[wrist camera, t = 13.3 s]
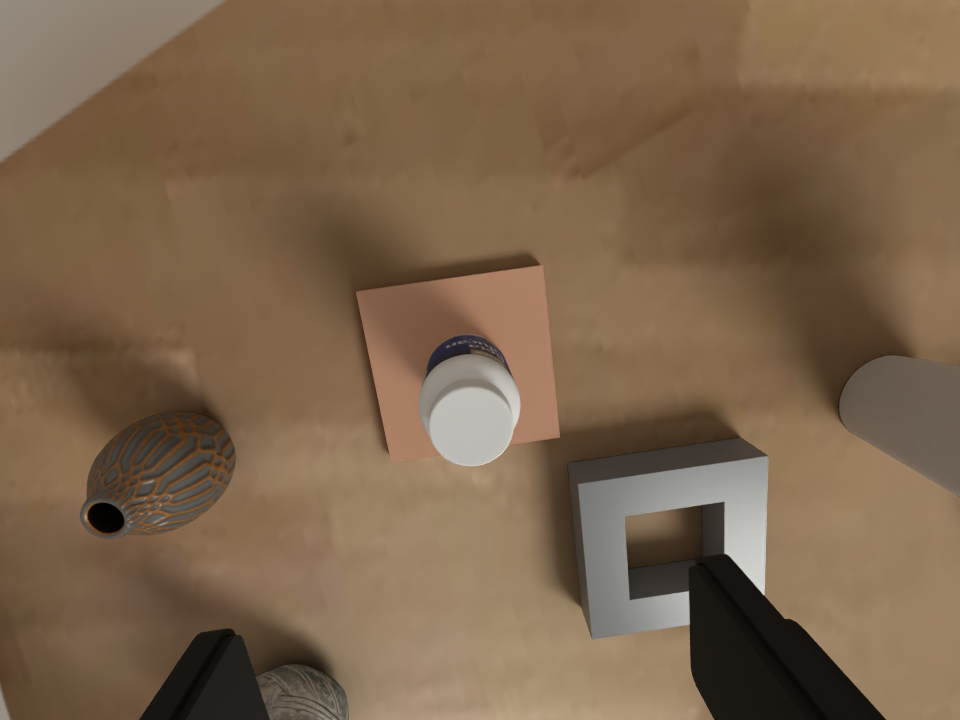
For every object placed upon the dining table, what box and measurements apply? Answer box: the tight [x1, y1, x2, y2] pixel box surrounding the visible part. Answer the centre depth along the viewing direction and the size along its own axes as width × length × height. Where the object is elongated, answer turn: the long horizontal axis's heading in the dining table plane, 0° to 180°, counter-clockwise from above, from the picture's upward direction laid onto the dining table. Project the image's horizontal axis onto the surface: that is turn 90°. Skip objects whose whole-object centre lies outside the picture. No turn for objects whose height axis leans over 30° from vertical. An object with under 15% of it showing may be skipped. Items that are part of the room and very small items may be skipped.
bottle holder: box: [567, 438, 768, 639], centre depth 33 cm, size 13×13×3 cm
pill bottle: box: [418, 334, 520, 466], centre depth 25 cm, size 5×5×10 cm
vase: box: [80, 411, 236, 539], centre depth 27 cm, size 7×7×9 cm
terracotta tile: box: [356, 265, 560, 462], centre depth 30 cm, size 12×12×1 cm
